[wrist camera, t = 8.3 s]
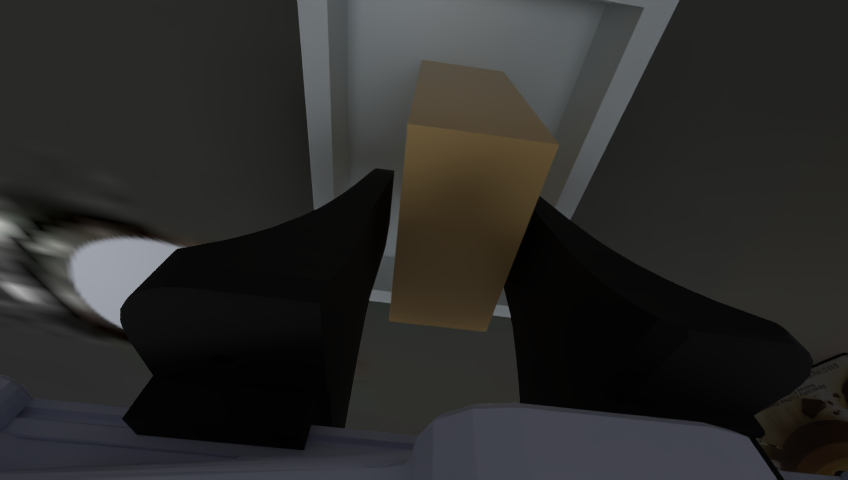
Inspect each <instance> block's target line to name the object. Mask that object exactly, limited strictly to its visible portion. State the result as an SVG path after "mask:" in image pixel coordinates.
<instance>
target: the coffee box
mask: <svg viewBox="0 0 848 480" xmlns="http://www.w3.org/2000/svg"><path fill="white" fill-rule="evenodd" d="M754 417H755V418H756V419H757V421H758V422H759V423H760V425H761V426H762V427H763V429H764V430H765V436H763V437H762V438H756V440H757V441H758V442H759V444H760V445H761V447H762V448H763V450H764V451H765V452H766V454H767V455H768V457H769V458H770V460H771V461H772V462H773V464H774V465H775V467H776V468H777V470H778V471H787V472H797V473H808V474H818V475H828V476H838V477H840V476H841V474H842V473H844V472H846V471H848V355H842V356H840V357H837V358H835V359H832V360H830V361H828V362H825V363H823V364H820V365H818V366H815V367H813V368H812V369H811V373H810V375H809V377H808V378H807V379H806V380H805V382H804V383H803V384H802V385H801V386H799V387H798V388H797V389H795V390H794V391H793V392H791V393H790V394H788V395H787V396H785V397H784V398H782V399H780V400H779V401H777V402H775V403H774V404H772V405H771V406H769V407H767V408H766V409H764V410H762V411H761V412H759V413H757V414H756V415H754Z"/></svg>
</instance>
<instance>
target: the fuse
mask: <svg viewBox="0 0 848 480" xmlns="http://www.w3.org/2000/svg"><path fill="white" fill-rule="evenodd" d="M558 147H559V144H558V142H557V141H556V140H555V138H554V137H553V136H552V135H551V133H550V132H549V131H548V129H547V128H546V127H545V125H544V124H543V123H542V121H541V120H540V119H539V117H538V116H537V115H536V114H535V112H534V111H533V110H532V108H531V107H530V106H529V104H528V103H527V102H526V100H525V99H524V98H523V96H522V95H521V94H520V93H519V91H518V90H517V89H516V87H515V86H514V85H513V83H512V82H511V81H510V79H509V78H508V77H507V75H506V74H505V73H504V72H502V71H495V70H488V69H482V68H475V67H468V66H462V65H455V64H448V63H441V62H435V61H428V60H422V63H421V67H420V71H419V76H418V80H417V85H416V89H415V94H414V98H413V102H412V107H411V111H410V116H409V120H408V126H407V136H406V147H405V157H404V168H403V178H402V189H401V199H400V210H399V220H398V231H397V241H396V252H395V262H394V273H393V283H392V294H391V304H390V315H389V321H391V322H400V323H410V324H419V325H428V326H437V327H446V328H455V329H465V330H474V331H483V332H486V331H487V328H488V326H489V323H490V320H491V318H492V315H493V313H494V310H495V308H496V305H497V303H498V300H499V297H500V295H501V292H502V290H503V287H504V285H505V282H506V280H507V277H508V274H509V272H510V269H511V267H512V264H513V262H514V259H515V257H516V254H517V251H518V249H519V246H520V244H521V241H522V239H523V236H524V234H525V231H526V228H527V226H528V223H529V221H530V218H531V216H532V213H533V211H534V208H535V205H536V203H537V200H538V198H539V195H540V193H541V190H542V188H543V185H544V182H545V180H546V177H547V175H548V172H549V170H550V167H551V165H552V162H553V159H554V157H555V154H556V152H557V149H558Z"/></svg>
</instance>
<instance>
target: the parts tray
mask: <svg viewBox="0 0 848 480" xmlns="http://www.w3.org/2000/svg"><path fill="white" fill-rule="evenodd" d="M297 2H298V15H299V27H300V40H301V52H302V65H303V77H304V90H305V103H306V115H307V128H308V140H309V153H310V165H311V178H312V191H313V203H314V210H316V209H318V208H320V207H321V206H323V205H325V204H327V203H329V202H330V201H332V200H333V199H335V198H336V197H338V196H340V195H341V194H343V193H344V192H346V191H347V190H348V189H350V188H351V187H352V186H354V185H355V184H356V183H357V182H359V181H360V180H361V179H362V178H364V177H365V176H366V175H367V174H369V173H370V172H371V171H372V170H374V169H375V168H379V169H386V170H393V171H394V182H393V193H392V204H391V215H390V225H389V230H388V236H387V242H386V247H385V250H384V254H383V257H382V260H381V264H380V267H379V270H378V273H377V276H376V280H375V283H374V286H373V289H372V292H371V296H370V299H369V301H377V302H386V303H391V294H392V283H393V273H394V262H395V252H396V241H397V231H398V220H399V210H400V199H401V189H402V178H403V168H404V157H405V147H406V136H407V126H408V120H409V116H410V111H411V107H412V102H413V98H414V94H415V89H416V85H417V80H418V76H419V71H420V67H421V63H422V60H428V61H435V62H441V63H448V64H455V65H462V66H468V67H475V68H482V69H488V70H495V71H502V72H504V73H505V74H506V75H507V77H508V78H509V79H510V81H511V82H512V83H513V85H514V86H515V87H516V89H517V90H518V91H519V93H520V94H521V95H522V96H523V98H524V99H525V100H526V102H527V103H528V104H529V106H530V107H531V108H532V110H533V111H534V112H535V114H536V115H537V116H538V117H539V119H540V120H541V121H542V123H543V124H544V125H545V127H546V128H547V129H548V131H549V132H550V133H551V135H552V136H553V137H554V138H555V140H556V141H557V142H558V144H559V147H558V149H557V152H556V154H555V157H554V159H553V162H552V165H551V167H550V170H549V172H548V175H547V177H546V180H545V182H544V185H543V188H542V190H541V193H540V195H539V196H541V197H542V198H543V199H544V200H546V201H547V202H548V203H549V204H551V205H552V206H553V207H554V208H556V209H557V210H558V211H559V212H561V213H562V214H563V215H564V216H565V217H567V218H568V219H569V220H570V219H571V217H572V215H573V213H574V211H575V209H576V207H577V205H578V203H579V201H580V199H581V197H582V195H583V193H584V191H585V189H586V187H587V185H588V183H589V181H590V179H591V177H592V175H593V173H594V171H595V169H596V167H597V165H598V163H599V161H600V159H601V157H602V155H603V153H604V151H605V149H606V147H607V145H608V143H609V141H610V139H611V137H612V135H613V133H614V131H615V129H616V127H617V125H618V123H619V121H620V119H621V117H622V115H623V113H624V111H625V109H626V107H627V105H628V103H629V101H630V99H631V97H632V95H633V93H634V91H635V88H636V86H637V84H638V82H639V80H640V78H641V76H642V74H643V72H644V70H645V68H646V66H647V64H648V62H649V60H650V58H651V56H652V54H653V52H654V50H655V48H656V46H657V44H658V42H659V40H660V38H661V36H662V34H663V32H664V30H665V28H666V26H667V24H668V22H669V20H670V18H671V16H672V14H673V12H674V10H675V8H676V6H677V4H678V2H679V0H297ZM493 315H494V316H503V317H511V316H510V311H509V307H508V303H507V299H506V295H505V291H504V287H503V290H502V292H501V295H500V297H499V300H498V303H497V305H496V308H495V310H494V313H493Z"/></svg>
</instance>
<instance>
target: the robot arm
mask: <svg viewBox="0 0 848 480" xmlns="http://www.w3.org/2000/svg"><path fill="white" fill-rule="evenodd" d="M393 182H394V171H393V170H386V169H379V168H375V169H374V170H372V171H371V172H370V173H369V174H367V175H366V176H365V177H364V178H362V179H361V180H360V181H359V182H357V183H356V184H355V185H354V186H352V187H351V188H350V189H348V190H347V191H346V192H344V193H343V194H341V195H340V196H338V197H336V198H335V199H333V200H332V201H330V202H329V203H327V204H325V205H323V206H321V207H320V208H318V209H316V210H314V211H312V212H310V213H307V214H305V215H303V216H301V217H298V218H296V219H293V220H291V221H288V222H285V223H283V224H280V225H277V226H275V227H272V228H269V229H265V230H262V231H259V232H255V233H252V234H248V235H244V236H240V237H236V238H232V239H228V240H223V241H218V242H213V243H207V244H202V245H197V246H192V247H186V248H180V249H177V250H175V251H174V252H173V253H172V254H171V255H170V256H169V257H168V258H167V259H166V260H165V261H164V262H163V263H162V264H161V265H160V266H159V267H158V268H157V269H156V270H155V271H154V272H153V273H152V274H151V275H150V276H149V277H148V278H147V279H146V280H145V281H144V282H143V283H142V284H141V285H140V286H139V287H138V288H137V289H136V290H135V291H134V292H133V293H132V294H131V295H130V296H129V297H128V298H127V299H126V301H125V302H124V304H123V306H122V307H121V309H120V312H121V313H120V321H121V325H122V327H123V329H124V331H125V333H126V336H127V338H128V339H129V341H130V342H131V344H132V345H133V346H134V348H135V349H136V351H137V352H138V354H139V355H140V357H141V358H142V360H143V361H144V363H145V364H146V365H147V367H148V368H149V370H150V371H151V373H152V374H153V377H152V378H151V380H150V381H149V382H148V384H147V385H146V386H145V388H144V389H143V391H142V392H141V393H140V395H139V396H138V397H137V399H136V400H135V401H134V403H133V404H132V406H131V407H120V406H110V405H99V404H89V403H79V402H69V401H58V400H48V399H38V398H32V396H31V393H30V392H29V391H28V390H27V389H26V388H25V387H24V386H23V385H21V384H20V383H19V382H17V381H15V380H14V379H12V378H10V377H7V376H4V375H2V374H0V480H848V471H846V472H844V473H842V474H841V476H840V477H838V476H828V475H818V474H808V473H797V472H787V471H778V470H777V468H776V467H775V465H774V464H773V462H772V461H771V460H770V458H769V457H768V455H767V454H766V452H765V451H764V450H763V448H762V447H761V445H760V444H759V442H758V441H757V440H756V438H762V437H763V436H765V430H764V429H763V427H762V426H761V425H760V423H759V422H758V421H757V419H756V418H755V417H754V415H756V414H757V413H759V412H761V411H762V410H764V409H766V408H767V407H769V406H771V405H772V404H774V403H775V402H777V401H779V400H780V399H782V398H784V397H785V396H787V395H788V394H790V393H791V392H793V391H794V390H795V389H797V388H798V387H799V386H801V385H802V384H803V383H804V382H805V380H806V379H807V378H808V377H809V375H810V373H811V369H812V364H813V360H812V358H811V356H810V354H809V352H808V351H807V350H806V349H805V348H804V347H803V346H802V345H801V344H800V343H799V342H798V341H797V340H796V339H795V338H794V337H793V336H792V335H791V334H790V333H789V332H788V331H787V330H785V329H784V328H783V327H781V326H780V325H778V324H777V323H774V322H772V321H769V320H766V319H763V318H761V317H758V316H755V315H752V314H750V313H747V312H744V311H741V310H739V309H736V308H733V307H730V306H728V305H725V304H722V303H720V302H717V301H715V300H712V299H710V298H707V297H705V296H703V295H700V294H698V293H695V292H693V291H691V290H688V289H686V288H684V287H682V286H679V285H677V284H675V283H673V282H671V281H669V280H666V279H664V278H662V277H660V276H658V275H656V274H655V273H653V272H651V271H649V270H647V269H645V268H643V267H641V266H639V265H637V264H635V263H633V262H632V261H630V260H628V259H626V258H625V257H623V256H621V255H620V254H618V253H617V252H615V251H613V250H612V249H610V248H608V247H607V246H605V245H604V244H602V243H601V242H599V241H598V240H596V239H595V238H593V237H592V236H591V235H589V234H588V233H586V232H585V231H584V230H582V229H581V228H580V227H578V226H577V225H576V224H574V223H573V222H572V221H571V220H569V219H568V218H567V217H565V216H564V215H563V214H562V213H561V212H559V211H558V210H557V209H556V208H554V207H553V206H552V205H551V204H549V203H548V202H547V201H546V200H544V199H543V198H542V197H541V196H539V198H538V200H537V203H536V205H535V208H534V211H533V213H532V216H531V218H530V221H529V223H528V226H527V228H526V231H525V234H524V236H523V239H522V241H521V244H520V246H519V249H518V251H517V254H516V257H515V259H514V262H513V264H512V267H511V269H510V272H509V274H508V277H507V280H506V282H505V285H504V291H505V295H506V299H507V303H508V307H509V311H510V316H511V321H512V326H513V333H514V342H515V350H516V359H517V370H518V380H519V393H520V403H491V404H472V405H469V406H466V407H463V408H459V409H456V410H453V411H450V412H447V413H443V414H440V415H439V416H438V417H437V418H436V419H435V420H434V421H433V422H432V423H431V424H430V425H429V426H428V427H427V428H426V429H425V430H424V431H423V432H422V433H421V434H420V435H419V436H418V435H407V434H397V433H387V432H377V431H366V430H356V429H346V428H345V423H346V418H347V412H348V406H349V401H350V395H351V390H352V384H353V379H354V373H355V368H356V362H357V357H358V352H359V347H360V341H361V336H362V331H363V326H364V321H365V316H366V311H367V307H368V303H369V299H370V296H371V292H372V289H373V286H374V283H375V280H376V276H377V273H378V270H379V267H380V264H381V260H382V257H383V254H384V250H385V247H386V242H387V236H388V230H389V225H390V215H391V204H392V193H393Z"/></svg>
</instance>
